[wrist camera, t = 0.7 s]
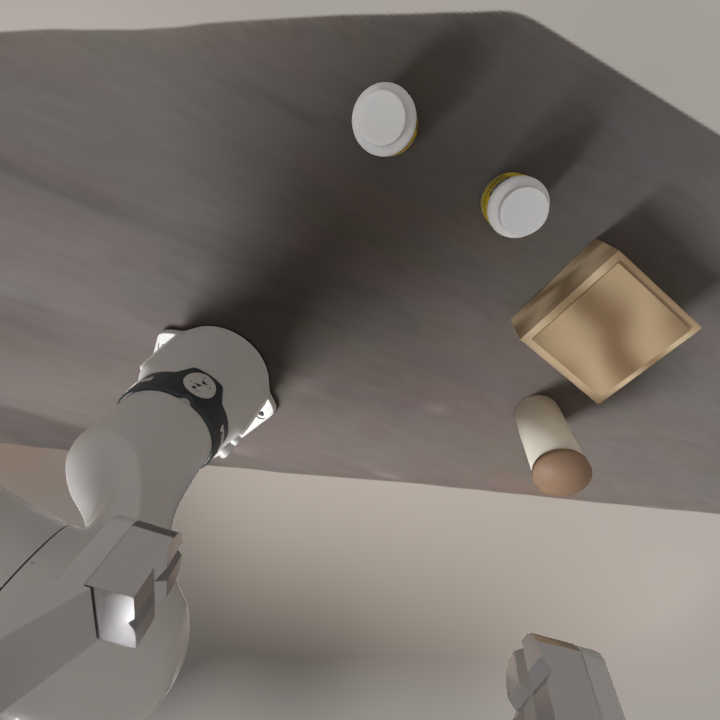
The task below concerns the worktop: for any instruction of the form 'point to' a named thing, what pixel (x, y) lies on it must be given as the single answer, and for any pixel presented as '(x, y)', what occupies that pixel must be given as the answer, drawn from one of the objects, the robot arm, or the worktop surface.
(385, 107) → the supplement bottle
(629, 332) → the oak block
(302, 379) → the worktop surface
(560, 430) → the cream tin
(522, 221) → the supplement bottle
